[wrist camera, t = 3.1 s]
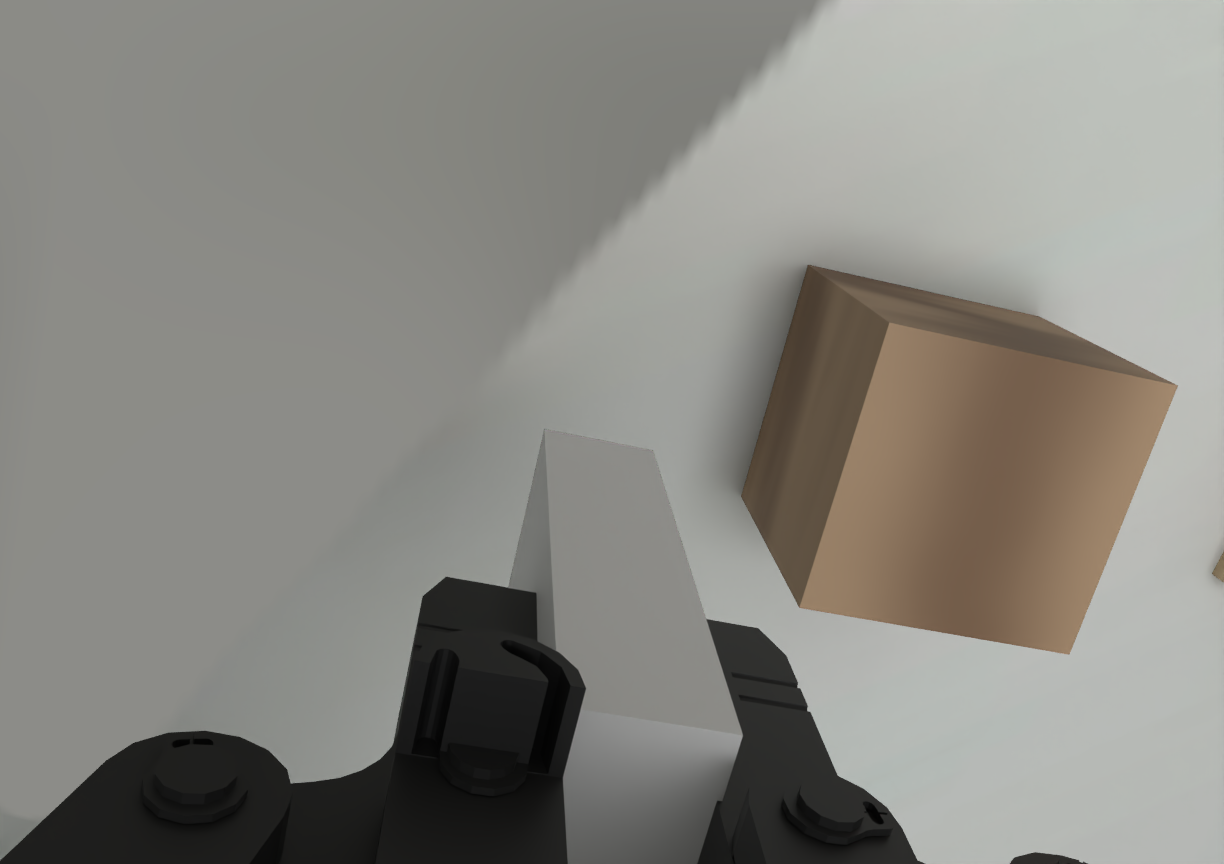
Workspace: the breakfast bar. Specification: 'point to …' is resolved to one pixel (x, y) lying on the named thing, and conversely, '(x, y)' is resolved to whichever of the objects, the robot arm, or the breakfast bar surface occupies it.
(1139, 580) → the breakfast bar surface
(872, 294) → the walnut block
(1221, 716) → the breakfast bar surface
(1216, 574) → the oak board
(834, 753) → the breakfast bar surface
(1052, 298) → the breakfast bar surface
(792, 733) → the robot arm
